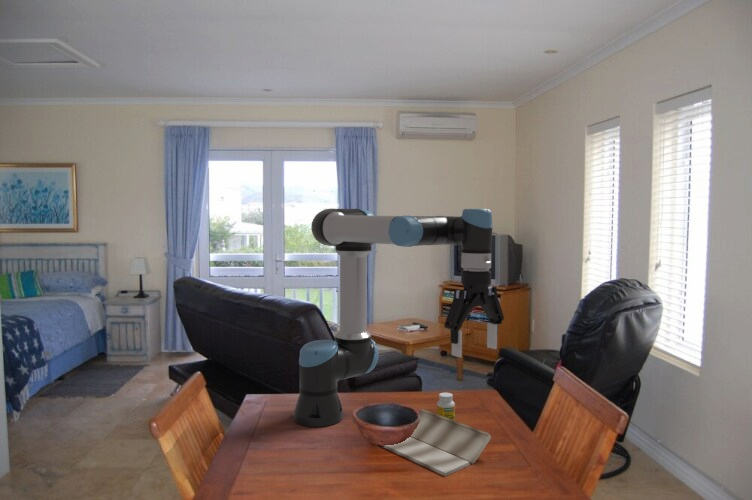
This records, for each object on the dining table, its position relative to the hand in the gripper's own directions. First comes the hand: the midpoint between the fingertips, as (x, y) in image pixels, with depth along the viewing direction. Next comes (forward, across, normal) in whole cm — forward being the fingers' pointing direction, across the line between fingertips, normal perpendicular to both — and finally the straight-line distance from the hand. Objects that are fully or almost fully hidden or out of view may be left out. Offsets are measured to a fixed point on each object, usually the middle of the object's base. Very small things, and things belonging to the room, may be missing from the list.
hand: (474, 352), depth 141 cm
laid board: (+28, -10, +9) cm, 31 cm away
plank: (+25, 0, +9) cm, 27 cm away
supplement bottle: (+28, +10, +20) cm, 36 cm away
